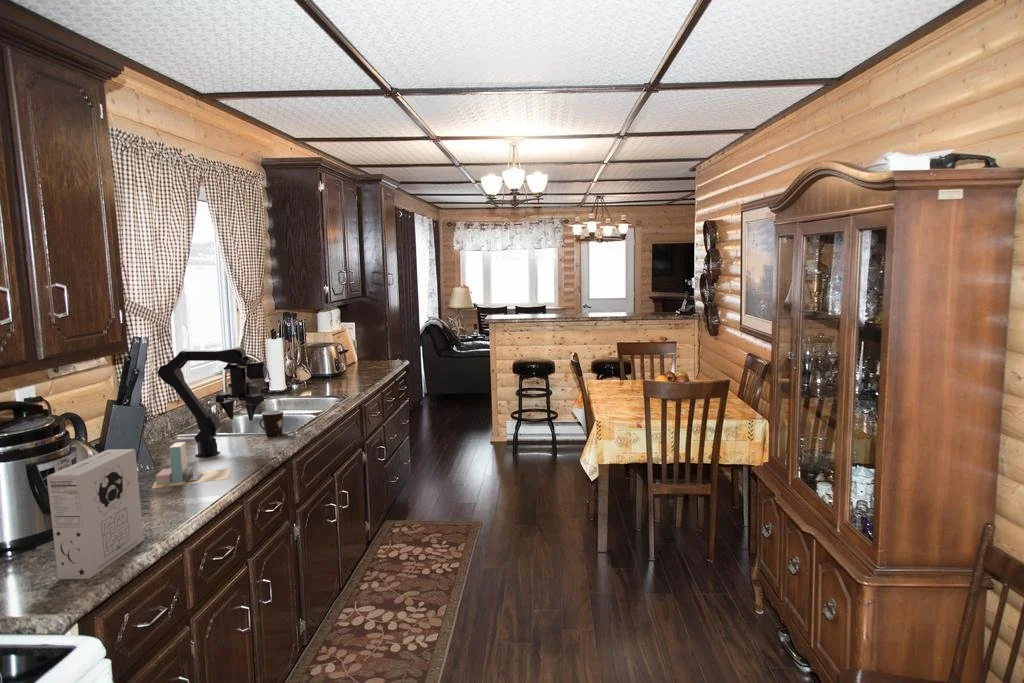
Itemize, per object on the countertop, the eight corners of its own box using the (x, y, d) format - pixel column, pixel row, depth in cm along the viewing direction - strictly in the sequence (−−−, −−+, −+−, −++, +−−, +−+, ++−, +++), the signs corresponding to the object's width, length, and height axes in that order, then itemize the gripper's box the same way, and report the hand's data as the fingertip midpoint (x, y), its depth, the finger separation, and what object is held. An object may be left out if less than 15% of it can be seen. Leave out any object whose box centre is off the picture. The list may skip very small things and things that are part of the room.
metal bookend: (191, 475, 223) (190, 467, 222) (202, 474, 223) (202, 466, 223) (184, 482, 216) (184, 473, 216) (197, 481, 217) (196, 472, 216)
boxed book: (178, 477, 221) (175, 442, 220) (188, 476, 222) (185, 441, 221) (172, 482, 215) (169, 447, 214) (182, 482, 216) (179, 446, 215)
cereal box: (116, 540, 173) (107, 449, 170) (144, 540, 173) (135, 448, 170) (57, 580, 151) (45, 475, 148) (89, 579, 151) (78, 475, 148)
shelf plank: (151, 491, 211) (151, 488, 211) (158, 480, 222) (157, 477, 222) (228, 482, 218) (228, 478, 218) (231, 471, 230) (230, 468, 230)
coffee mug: (279, 431, 285) (277, 409, 284) (288, 434, 279) (286, 412, 278) (253, 437, 277) (251, 414, 276) (261, 440, 271) (260, 417, 270)
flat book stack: (164, 477, 222) (163, 468, 221) (177, 476, 222) (176, 467, 222) (156, 484, 214) (155, 476, 213) (169, 483, 215) (168, 475, 214)
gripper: (272, 377, 254) (275, 416, 256) (234, 376, 261) (237, 414, 262) (252, 382, 244) (255, 423, 246) (213, 380, 250) (216, 420, 252)
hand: (241, 420), depth 252 cm, fingers open, 9 cm apart
